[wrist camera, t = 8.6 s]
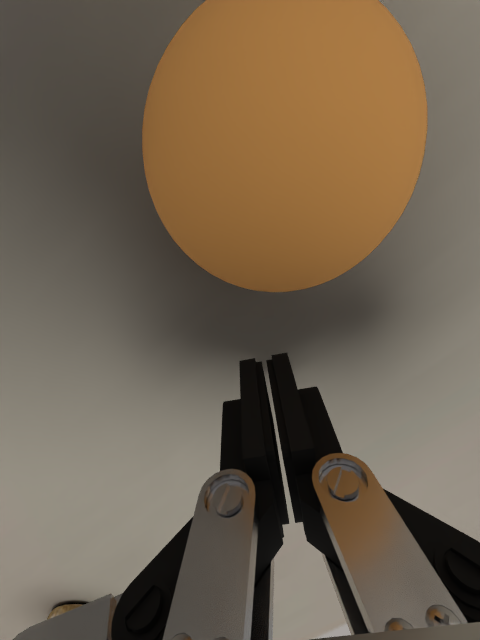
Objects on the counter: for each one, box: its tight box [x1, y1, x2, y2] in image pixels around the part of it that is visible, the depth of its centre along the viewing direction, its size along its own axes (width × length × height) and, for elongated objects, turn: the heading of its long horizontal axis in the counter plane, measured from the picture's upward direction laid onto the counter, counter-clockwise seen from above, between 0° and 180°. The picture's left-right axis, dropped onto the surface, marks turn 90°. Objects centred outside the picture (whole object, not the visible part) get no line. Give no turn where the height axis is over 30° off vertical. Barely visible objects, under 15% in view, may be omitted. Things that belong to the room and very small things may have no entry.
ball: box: [142, 0, 427, 292], centre depth 7 cm, size 6×6×6 cm
